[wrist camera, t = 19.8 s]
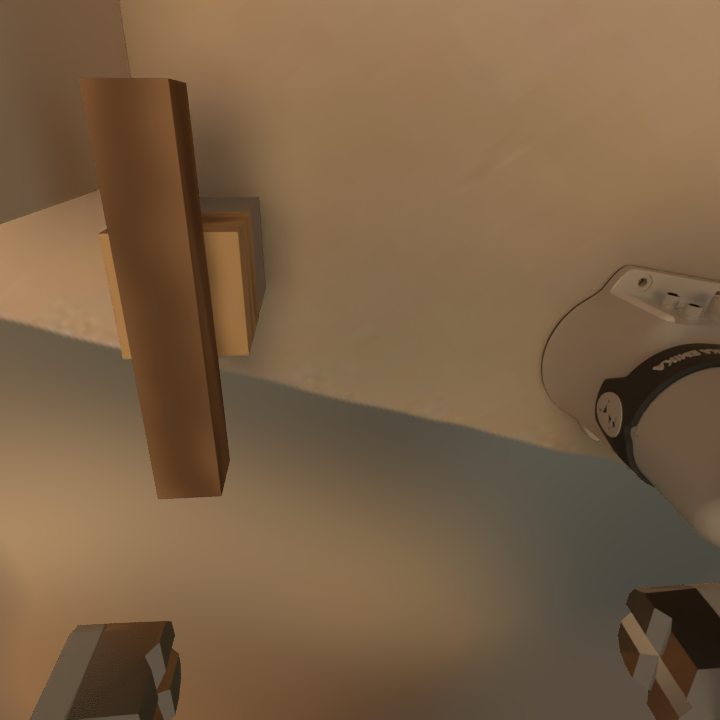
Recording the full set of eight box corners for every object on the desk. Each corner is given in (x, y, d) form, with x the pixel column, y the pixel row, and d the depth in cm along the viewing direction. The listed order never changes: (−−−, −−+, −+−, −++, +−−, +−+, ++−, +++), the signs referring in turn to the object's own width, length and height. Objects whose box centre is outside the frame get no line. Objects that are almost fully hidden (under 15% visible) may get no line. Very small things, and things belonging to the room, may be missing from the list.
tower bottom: (258, 197, 46) (249, 211, 39) (265, 288, 49) (258, 316, 42) (162, 198, 45) (135, 213, 38) (175, 290, 48) (153, 319, 42)
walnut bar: (186, 83, 29) (167, 78, 25) (229, 460, 39) (221, 496, 35) (108, 82, 28) (78, 77, 25) (172, 462, 38) (157, 499, 35)
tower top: (250, 211, 39) (237, 231, 32) (258, 316, 42) (248, 355, 35) (136, 212, 38) (98, 233, 32) (153, 319, 42) (123, 359, 35)
